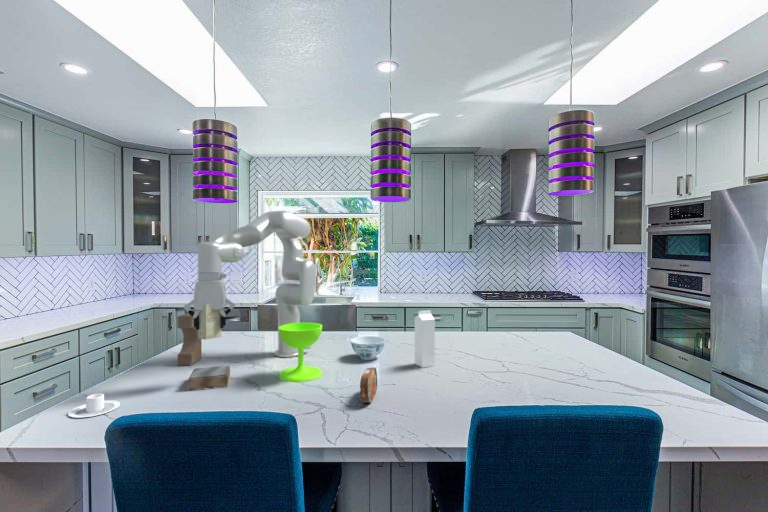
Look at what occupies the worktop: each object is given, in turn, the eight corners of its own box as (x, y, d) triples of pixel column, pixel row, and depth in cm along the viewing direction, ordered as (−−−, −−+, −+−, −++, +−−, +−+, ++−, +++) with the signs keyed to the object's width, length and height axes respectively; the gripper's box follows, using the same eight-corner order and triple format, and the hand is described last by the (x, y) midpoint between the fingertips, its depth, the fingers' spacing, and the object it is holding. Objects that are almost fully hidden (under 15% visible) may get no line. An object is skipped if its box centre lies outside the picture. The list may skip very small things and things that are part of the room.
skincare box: (205, 340, 128) (205, 304, 128) (197, 338, 130) (197, 303, 130) (222, 336, 133) (222, 302, 133) (214, 335, 136) (214, 301, 136)
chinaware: (391, 356, 166) (391, 338, 166) (372, 364, 153) (372, 345, 153) (363, 351, 174) (363, 334, 174) (343, 359, 161) (343, 341, 161)
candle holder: (103, 419, 104) (103, 403, 104) (56, 421, 103) (56, 405, 103) (128, 402, 116) (128, 388, 116) (87, 403, 115) (87, 389, 115)
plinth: (229, 375, 140) (229, 364, 140) (227, 386, 128) (227, 374, 128) (193, 379, 136) (193, 368, 136) (188, 390, 124) (188, 378, 124)
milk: (414, 363, 155) (414, 310, 155) (427, 362, 157) (426, 309, 157) (422, 367, 149) (422, 312, 149) (435, 365, 152) (434, 311, 152)
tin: (369, 407, 111) (369, 379, 111) (358, 406, 112) (358, 378, 112) (378, 389, 126) (378, 364, 126) (368, 388, 127) (368, 363, 127)
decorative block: (191, 365, 152) (191, 316, 152) (176, 366, 151) (176, 316, 151) (202, 358, 163) (202, 311, 163) (188, 358, 162) (188, 312, 162)
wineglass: (331, 374, 141) (331, 326, 141) (294, 385, 129) (294, 333, 129) (306, 365, 152) (306, 321, 152) (270, 375, 140) (270, 326, 140)
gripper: (237, 276, 138) (237, 324, 138) (184, 277, 132) (184, 327, 133) (236, 277, 131) (236, 328, 131) (179, 278, 125) (180, 332, 126)
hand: (210, 328), depth 132 cm, fingers closed on skincare box, 7 cm apart
